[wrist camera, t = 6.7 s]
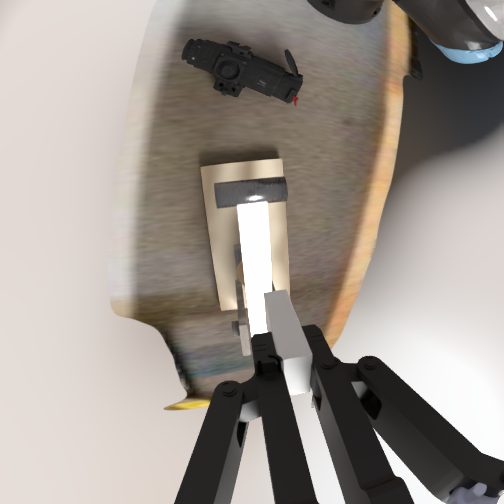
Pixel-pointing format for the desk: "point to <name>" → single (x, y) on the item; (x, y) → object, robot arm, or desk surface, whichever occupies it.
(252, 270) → the lever
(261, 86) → the night vision scope
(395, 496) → the robot arm
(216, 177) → the press base
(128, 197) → the desk surface
